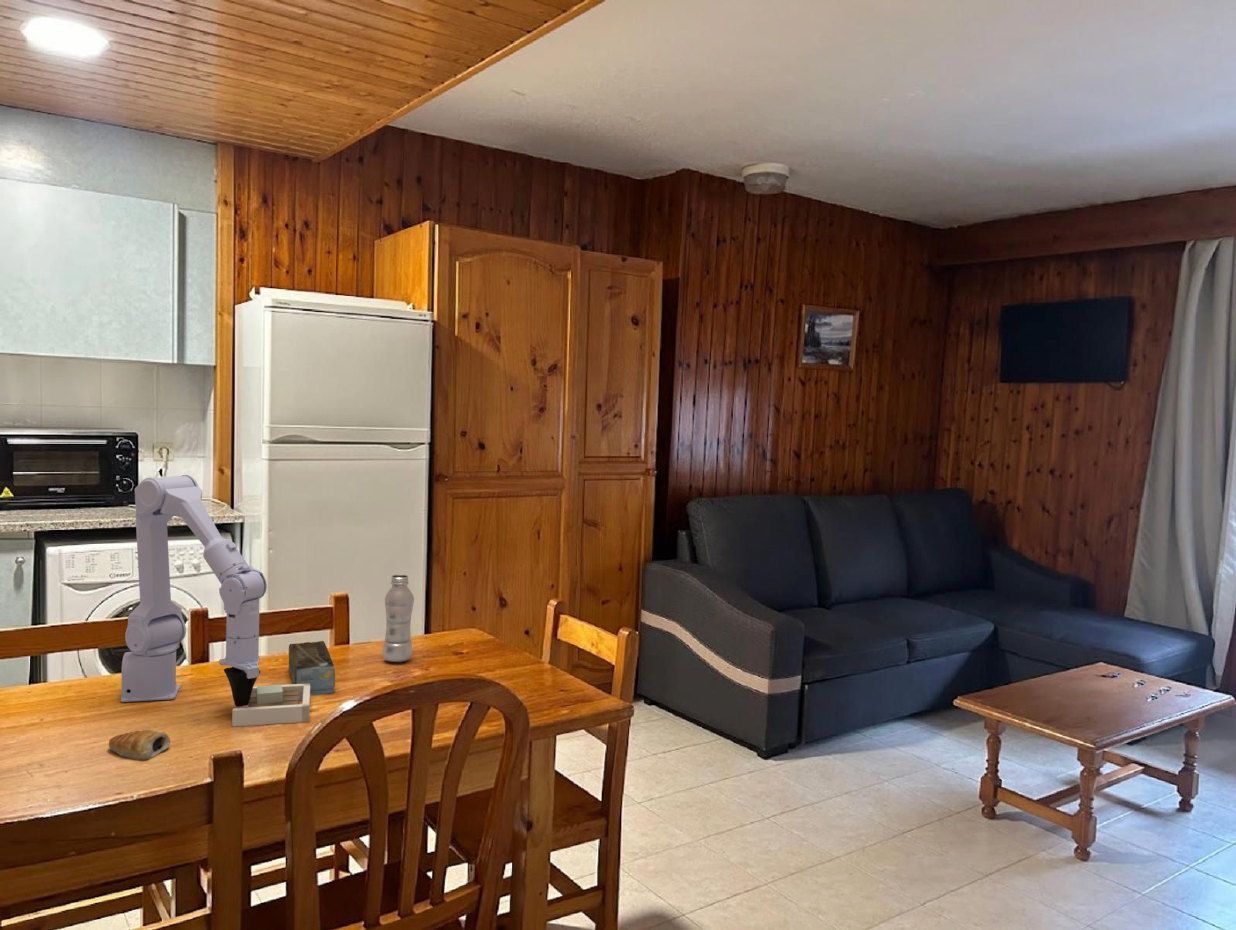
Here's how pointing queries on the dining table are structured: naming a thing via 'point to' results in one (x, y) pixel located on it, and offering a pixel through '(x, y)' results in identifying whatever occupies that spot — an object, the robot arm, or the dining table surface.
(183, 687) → the dining table surface
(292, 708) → the dock
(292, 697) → the pallet
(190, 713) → the dining table surface
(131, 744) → the pastry
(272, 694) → the pale green block
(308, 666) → the beverage carton
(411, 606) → the plastic bottle
